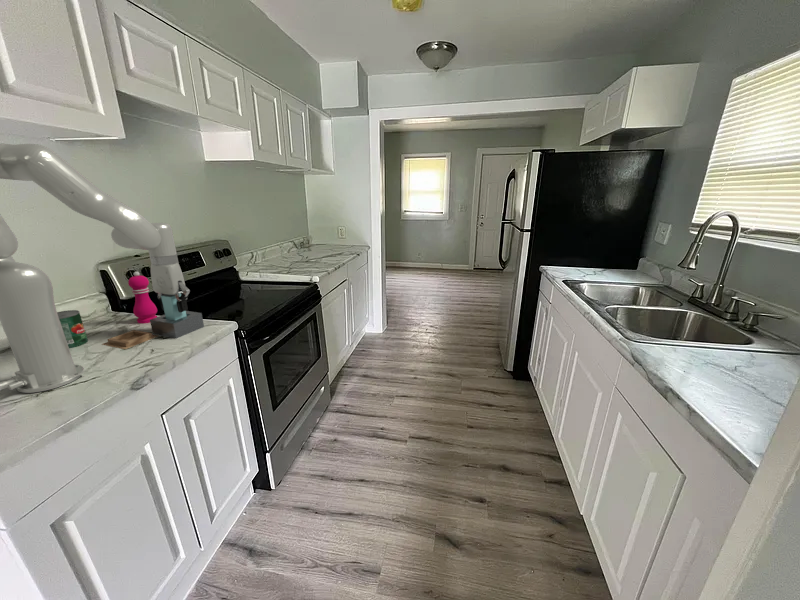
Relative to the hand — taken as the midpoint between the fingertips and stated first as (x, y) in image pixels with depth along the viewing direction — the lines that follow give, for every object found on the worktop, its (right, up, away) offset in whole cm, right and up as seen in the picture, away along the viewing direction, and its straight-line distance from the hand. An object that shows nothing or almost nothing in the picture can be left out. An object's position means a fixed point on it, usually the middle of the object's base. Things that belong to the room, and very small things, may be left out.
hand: (174, 309), depth 115 cm
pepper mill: (-18, -5, +11) cm, 22 cm away
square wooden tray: (-11, -11, -6) cm, 16 cm away
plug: (0, -4, +1) cm, 5 cm away
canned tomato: (-27, -12, -9) cm, 31 cm away
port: (0, -8, +3) cm, 9 cm away
